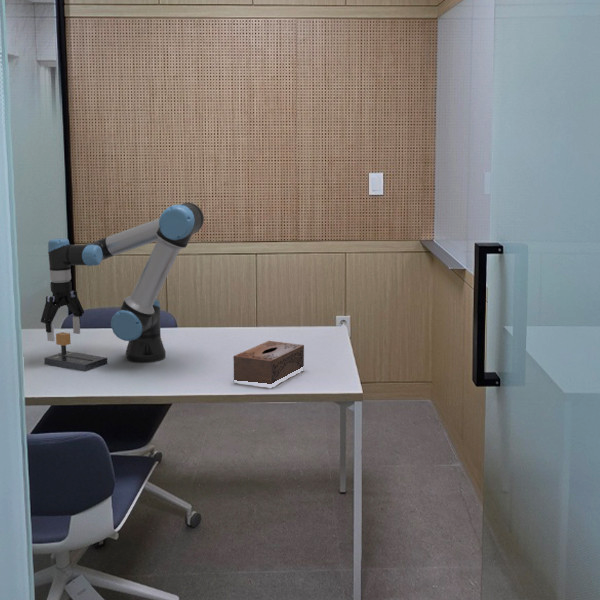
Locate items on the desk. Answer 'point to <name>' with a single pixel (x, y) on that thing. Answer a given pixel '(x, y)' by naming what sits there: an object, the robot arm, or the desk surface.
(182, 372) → the desk surface
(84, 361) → the panel
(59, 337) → the dimmer fader
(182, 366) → the desk surface
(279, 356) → the tissue box cover
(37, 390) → the desk surface
